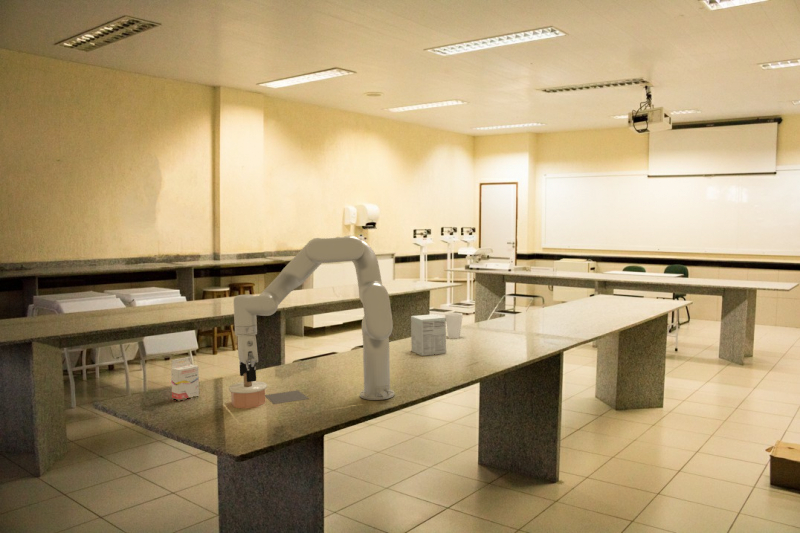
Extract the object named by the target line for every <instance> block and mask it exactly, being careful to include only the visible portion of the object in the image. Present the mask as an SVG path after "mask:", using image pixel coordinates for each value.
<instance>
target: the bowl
mask: <svg viewBox="0 0 800 533" xmlns="http://www.w3.org/2000/svg"><path fill="white" fill-rule="evenodd" d="M265 395H266V389H264V390H262V391H258V392H253V393H233V392H230V397H231V398H230V400H231V406H232V407H233V408H239V409H250V408H252V409H253V408H257V407H258V408H259V407H261V406H263V405H264V404H265V403H266V397H265Z"/></svg>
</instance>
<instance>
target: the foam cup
mask: <svg viewBox="0 0 800 533" xmlns="http://www.w3.org/2000/svg"><path fill="white" fill-rule="evenodd" d="M444 317H445V318H446V332H447V337H448V338H449V339H453V340H454V339H460V338H461V332H462V322H463V313H461V312H446V313H445V315H444Z"/></svg>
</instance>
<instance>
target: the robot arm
mask: <svg viewBox="0 0 800 533" xmlns="http://www.w3.org/2000/svg"><path fill="white" fill-rule="evenodd" d="M340 262H341V263H343V262H344V263H345V262H352V263H353V265H354V267H355V268H354V269H355V272H356V273H355V274H356V279H357V286H358V297H359V299H360V300H359V301H360V302H361V303H362V307H363V317H362V319H361V320H362V321H361V333H362V334H361V335H362V349H363V350H362V351H363V352H362V354H363V356H362V358H363V361H362V362H363V390H361V391H360V392H359V397H360V398H362V399H364V400H369V401H381V400H383V401H385V400H388V399H392V398H393V397H395V391H394V390H392V389H391V381H390V380H391V370H390V366H391V365H390V361H391V360H390V338H389V337H390V336H391V335H392V332H393V329H394V328H393V327H394V325H393V324H394V322H393V313H392V308H391V300H390V296H389V292H388V289H387V288H386V287H385V285H383V283H382V282H383V281H382V276H381V270H380V265H379V261H378V257H377V255H376V254H375V251H374V249H372V247H371V246H370V245H369V244H368V243H367V242H366V241H364V240H363V239H360V238H359V237H356V236H355V235H346V236H342V237H329V238H327V237H326V238H325V237H323V238H322V237H321V238H320V237H315V238H311V240H309V241H308V242H307V243H306V244H305V245H304V246H303V247H302V249H300V251H299V252H298V253H296V255H294V257H293V258H292V259H291V261H289V262H288V263H287V264H286V266H285V267H283V269H282V270H281V272H279V273H278V275H277V276H276V277H275V278H273V280H272V281H271V283H270V284H268V285H267V286H266V288H265V289H264V290H263V291H261V292H260V294H259V295H253V294H238V295H236V296H234V297H233V317H234V320H233V321H234V335H235V336H236V337H237V356H238V360H239V376H241V377H244V375H243V374H244V373H246V377H247V382H252V381H257V368H256V367H257V366H256V363H258V362H259V355H258V354H259V353H258V346H257V345H258V344H257V338H256V335H258V324H257V322H258V321H257V316H260V317H261V316H263V317H264V316H265V317H267V316H269V317H270V316H272V315H274V314H275V313H276V312H277V310H278V308H279V306H280V304H281V303H282V302H283V301H284V300H285V299H286V298H287V297H288V296H289V294H291V292H293V291H294V290H295V289H297V288H298V287H300V286H302V285H303V284H304V283H305V282H306V281H307V280H308V278H310V277H311V276H312V275H313V274H314V272H315V271H316V270H317V269H318V268H319V267H320V265H322V264H329V263H340Z"/></svg>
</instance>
